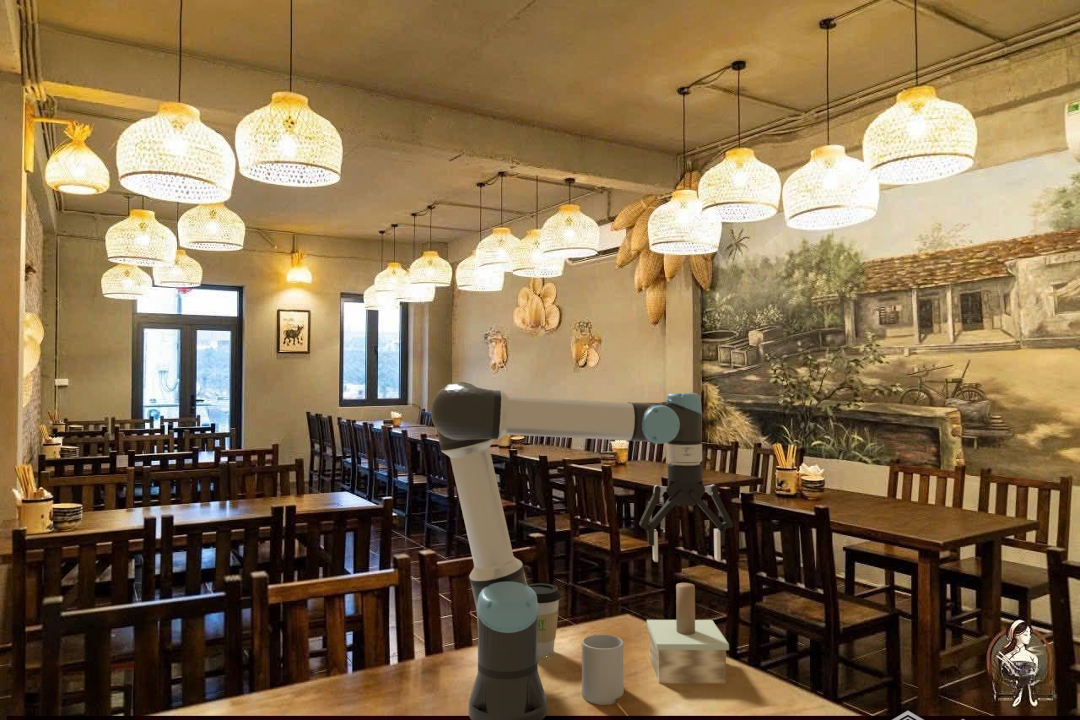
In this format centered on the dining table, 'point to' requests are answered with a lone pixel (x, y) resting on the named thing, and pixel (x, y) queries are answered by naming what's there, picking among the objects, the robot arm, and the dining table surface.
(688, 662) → the box
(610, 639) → the mug
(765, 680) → the dining table surface
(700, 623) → the lid
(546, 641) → the coffee cup
